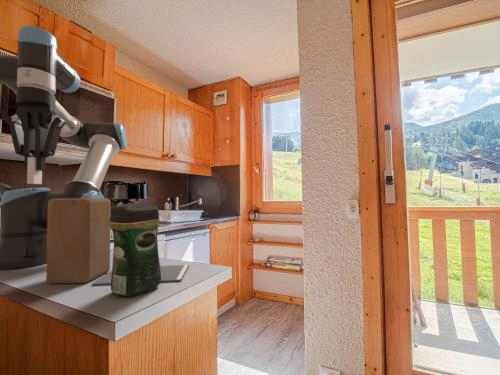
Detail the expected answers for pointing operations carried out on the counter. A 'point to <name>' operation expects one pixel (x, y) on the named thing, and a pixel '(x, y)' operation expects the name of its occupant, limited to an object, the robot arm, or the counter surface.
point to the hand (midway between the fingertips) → (34, 183)
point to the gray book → (167, 274)
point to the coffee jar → (135, 248)
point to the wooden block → (78, 239)
